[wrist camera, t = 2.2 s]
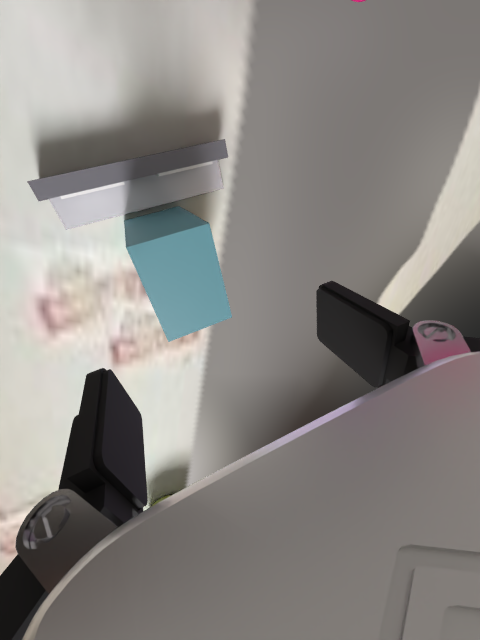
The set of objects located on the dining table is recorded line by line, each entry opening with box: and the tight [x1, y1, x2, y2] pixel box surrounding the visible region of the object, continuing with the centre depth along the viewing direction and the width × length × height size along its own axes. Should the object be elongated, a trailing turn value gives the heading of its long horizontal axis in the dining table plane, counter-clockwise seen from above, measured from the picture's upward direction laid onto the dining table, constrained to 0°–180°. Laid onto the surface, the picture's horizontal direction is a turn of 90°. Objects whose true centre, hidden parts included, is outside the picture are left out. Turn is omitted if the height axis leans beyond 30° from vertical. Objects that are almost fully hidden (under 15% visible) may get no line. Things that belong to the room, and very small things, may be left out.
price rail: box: [27, 139, 228, 230], centre depth 20 cm, size 4×14×3 cm, turn 101°
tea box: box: [124, 206, 232, 342], centre depth 21 cm, size 5×7×10 cm
